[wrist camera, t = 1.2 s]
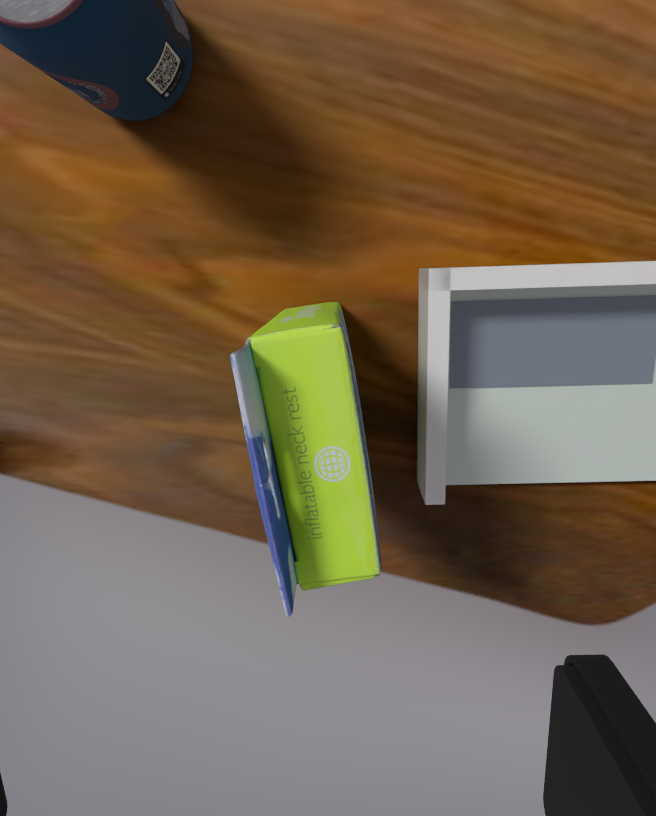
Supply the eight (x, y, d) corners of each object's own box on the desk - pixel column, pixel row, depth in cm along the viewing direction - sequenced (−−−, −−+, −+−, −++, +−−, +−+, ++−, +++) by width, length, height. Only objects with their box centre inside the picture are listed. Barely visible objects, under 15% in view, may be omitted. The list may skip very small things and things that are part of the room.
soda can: (56, 76, 31) (-116, -40, 19) (115, -40, 29) (-33, -243, 18) (159, 152, 32) (54, 85, 20) (222, 42, 30) (148, -99, 19)
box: (369, 453, 36) (394, 612, 19) (309, 462, 36) (283, 627, 20) (342, 295, 34) (345, 323, 17) (278, 307, 34) (218, 345, 17)
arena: (717, 258, 33) (765, 257, 29) (686, 475, 36) (725, 498, 32) (418, 268, 33) (428, 268, 29) (416, 481, 37) (425, 504, 33)
